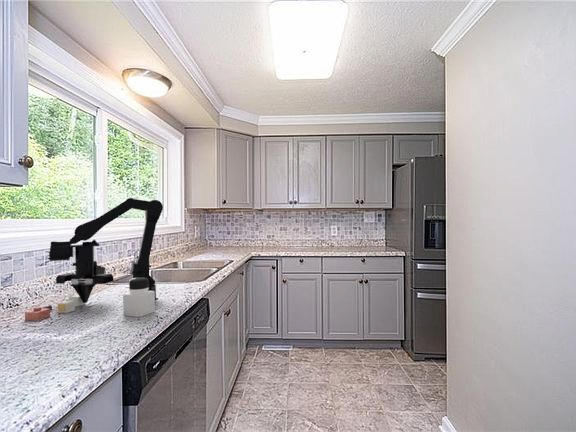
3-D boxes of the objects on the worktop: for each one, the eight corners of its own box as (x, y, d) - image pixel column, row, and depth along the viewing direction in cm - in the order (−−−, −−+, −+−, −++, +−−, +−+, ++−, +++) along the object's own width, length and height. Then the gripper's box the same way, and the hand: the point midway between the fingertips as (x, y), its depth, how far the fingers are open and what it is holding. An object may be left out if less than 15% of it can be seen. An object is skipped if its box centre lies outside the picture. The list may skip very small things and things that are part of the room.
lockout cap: (50, 321, 109) (49, 306, 109) (38, 325, 105) (37, 309, 105) (37, 320, 110) (37, 305, 110) (25, 325, 105) (24, 309, 105)
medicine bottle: (155, 311, 117) (154, 276, 117) (140, 317, 111) (139, 280, 111) (138, 310, 120) (138, 275, 120) (122, 315, 113) (122, 279, 113)
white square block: (85, 303, 124) (85, 295, 124) (78, 306, 121) (78, 297, 121) (76, 303, 125) (76, 294, 125) (69, 306, 121) (69, 297, 121)
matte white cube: (75, 309, 116) (74, 300, 116) (66, 313, 112) (66, 303, 112) (65, 309, 117) (65, 300, 117) (56, 312, 113) (56, 303, 113)
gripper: (122, 256, 129) (123, 297, 129) (77, 256, 132) (78, 297, 132) (102, 260, 118) (103, 305, 118) (54, 260, 121) (55, 304, 121)
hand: (85, 302), depth 122 cm, fingers closed
